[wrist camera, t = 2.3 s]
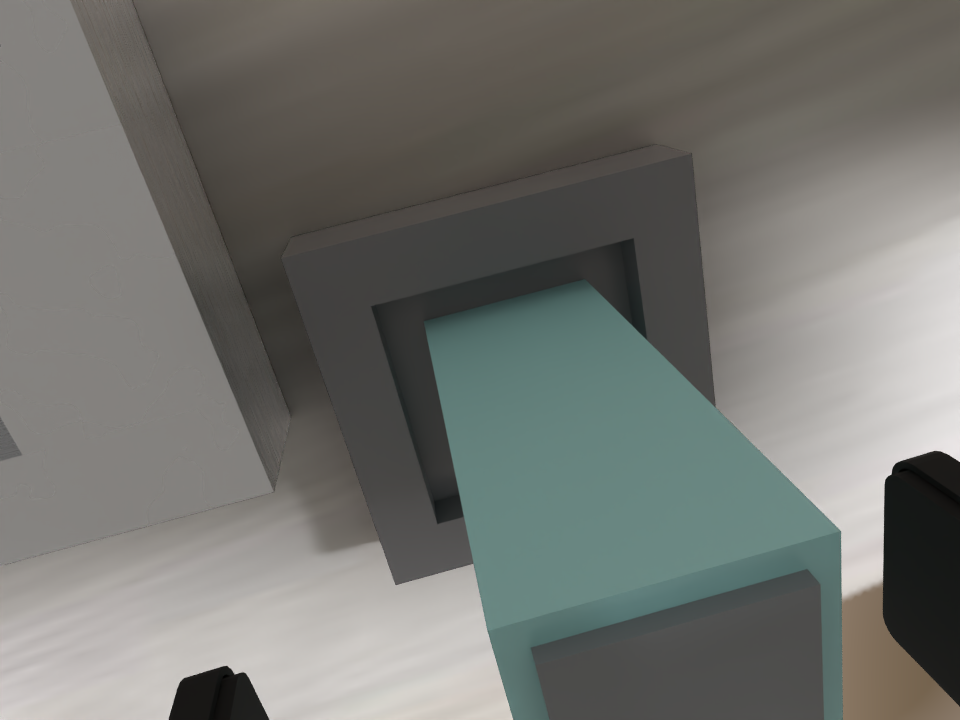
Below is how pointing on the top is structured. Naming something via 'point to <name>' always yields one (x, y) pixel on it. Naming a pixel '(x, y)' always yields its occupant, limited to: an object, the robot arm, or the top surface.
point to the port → (114, 297)
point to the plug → (629, 527)
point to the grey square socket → (477, 282)
